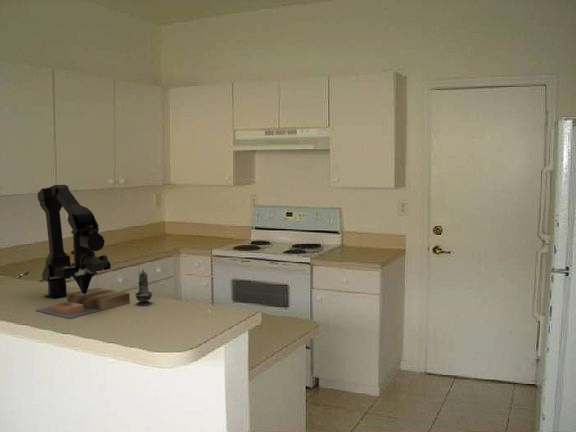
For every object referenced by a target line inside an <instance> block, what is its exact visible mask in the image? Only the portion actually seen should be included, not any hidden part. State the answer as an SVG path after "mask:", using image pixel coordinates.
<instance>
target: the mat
mask: <svg viewBox="0 0 576 432" xmlns="http://www.w3.org/2000/svg"><path fill="white" fill-rule="evenodd" d="M83 307H84V311H80V312H76V313H72V314H69V315H67V314H63V313H58V312H54V311H51V310H50V306H47V307H44V308H43V307H42V308H39V309H36V310H35V312H38V313H43V314H46V315H51V316H55V317H59V318H64V319H68V320H71V319H75V318H79V317H83V316H86V315H90V314H94V313H99V312H102V311H101V310H100V309H95V308H90V307H86V306H83Z"/></svg>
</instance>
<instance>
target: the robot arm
mask: <svg viewBox="0 0 576 432" xmlns="http://www.w3.org/2000/svg"><path fill="white" fill-rule="evenodd" d="M37 201H39V206H40V208H41V210H43V211H44V214H45V218H46V227H47V238H48V249H49V253H48V255H47V257H46V259H45V267H44V269H43V270H42V271H43V272H42V273H41V278H42V281H44V282H47V289H48V291H47V293H48V294H44V297H48V298H51V299H58V298H63V297H67V293H68V292H67V280H68V279H71V278H73V279H74V281H75V282H76V284H77V286H78V288H79V291H81V292H82V293H83V294H86V293H87V290H88V289H89V288H90V287H89V286H90V283H91V281H92V279H93V277H94V276H95V275H97V274H98V272H102V271H108V270H111V269H112V268H111V267H112V264H111V262H110V260H108V256H107V255H105V254H104V255H100V256H96V254H95V252H98V251H101V250H102V249H103V247H104V246H105V239H104V237H103V235H101V234H100V233H99V230H100V229H99V226H100V225H99V224H98V221H97V220H96V218H95V215H94V212H93V211H91V209H89V208H88V207H86V206H83V205H81V204H80V202H79V201H78V200H77V199H76V197H75V196H74V194H73V193H72V192H71V191H70V187H69V185H68V184H67V185H66V184H54V185H52V186H50V187H46V188H43V187H42V188H41V189H40V190H39V191H38V192H37ZM62 208H63V209H64V211H65V212H66V213H67V215H68V216H67V221H68V224H69V226H70V228H71V229H72V230H71V232H70V234H72V239H73V241H72V243H73V244H72V246H73V250H72V251H70V254H71V255H73V262H72V263H71V256H70V255H69V254H67V253H66V252H65V250H64V240H63V229H62V222H61V210H62Z"/></svg>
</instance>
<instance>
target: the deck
mask: <svg viewBox="0 0 576 432" xmlns="http://www.w3.org/2000/svg"><path fill="white" fill-rule="evenodd" d="M66 298H67V300H66V301H68V302H73V303H78V304H83V306H86V307H90V308H95V309H100V310H101V311H100V312H102V311H106V310H108V309H109V310H110V309H113V308H117V307H120V306H123V305H127V304H130V303H131V302H130V298H131V297H130V292H124V291H118V290H114V289H106V288H102V287H98V286H97V287H91V288H90V287H89V288H88V290H87V293H86V294H83V293H82V292H81V290H78V291H73V292H69V293H68V292H67V296H66Z"/></svg>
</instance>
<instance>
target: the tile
mask: <svg viewBox="0 0 576 432" xmlns="http://www.w3.org/2000/svg"><path fill="white" fill-rule="evenodd" d="M49 307H50V310H51V311H54V312H58V313H63V314H67V315H69V314H72V313H76V312H80V311H84V307H83V304H78V303H73V302H68V301H67V300H65V301H61V302H57V303H52V304H50V306H49Z"/></svg>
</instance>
